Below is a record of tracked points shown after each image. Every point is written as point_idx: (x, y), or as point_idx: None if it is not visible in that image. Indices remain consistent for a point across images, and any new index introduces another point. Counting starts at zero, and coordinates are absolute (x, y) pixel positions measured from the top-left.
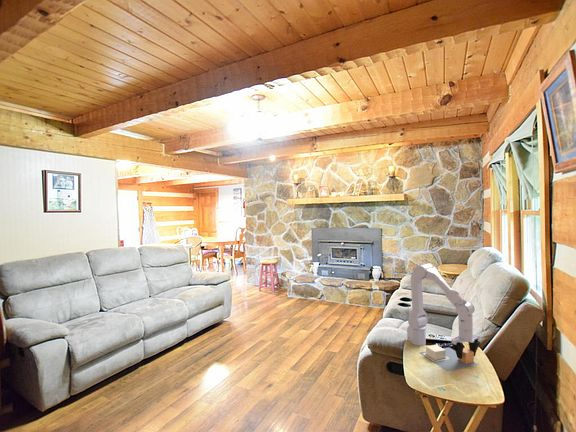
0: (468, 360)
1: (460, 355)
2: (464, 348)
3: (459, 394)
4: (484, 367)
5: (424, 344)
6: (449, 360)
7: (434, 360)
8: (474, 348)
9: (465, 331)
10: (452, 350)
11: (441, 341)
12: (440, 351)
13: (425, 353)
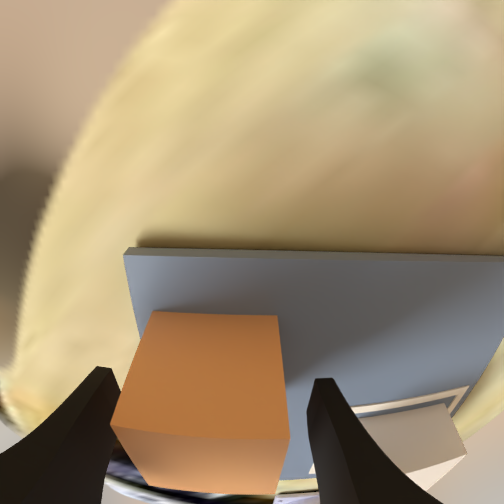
0: (233, 341)
1: (356, 417)
2: (180, 485)
3: None
4: (92, 205)
5: (309, 502)
6: (363, 393)
7: (450, 400)
8: (65, 456)
9: None
10: None
11: (171, 494)
12: (420, 465)
13: None
